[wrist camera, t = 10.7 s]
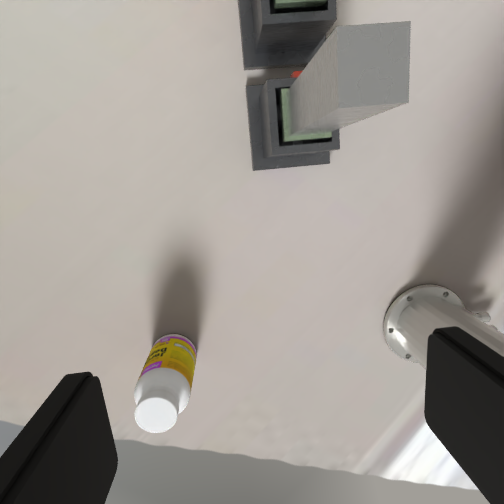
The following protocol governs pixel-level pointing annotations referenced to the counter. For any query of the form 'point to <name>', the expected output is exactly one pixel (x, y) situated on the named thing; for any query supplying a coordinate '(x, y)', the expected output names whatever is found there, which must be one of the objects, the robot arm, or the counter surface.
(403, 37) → the column
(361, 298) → the counter surface
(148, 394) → the supplement bottle
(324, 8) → the twin stand
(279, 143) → the stand sleeve
